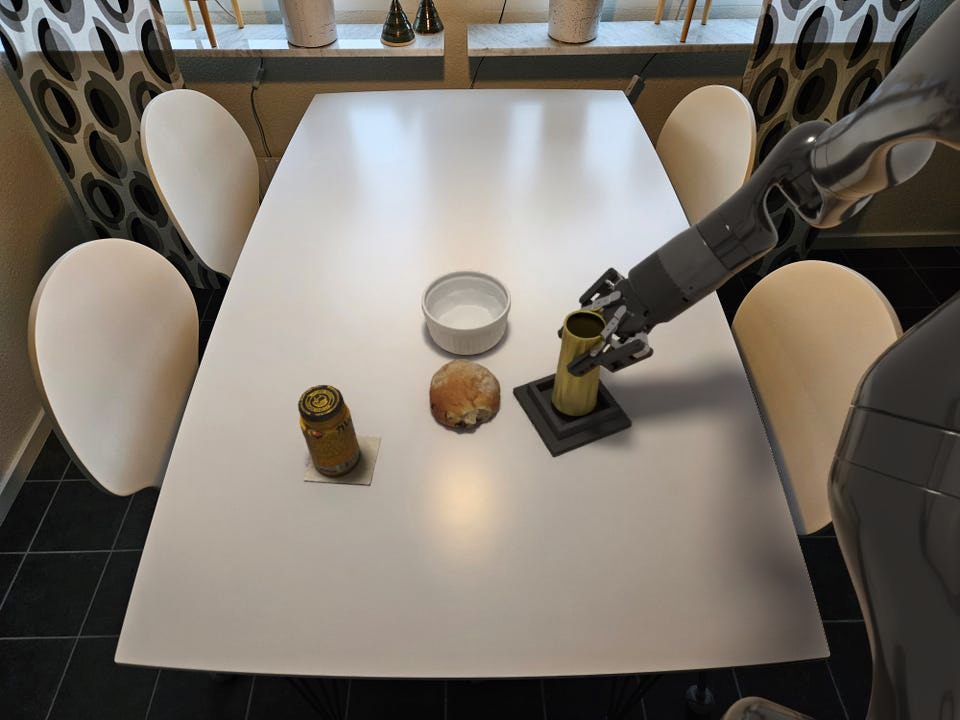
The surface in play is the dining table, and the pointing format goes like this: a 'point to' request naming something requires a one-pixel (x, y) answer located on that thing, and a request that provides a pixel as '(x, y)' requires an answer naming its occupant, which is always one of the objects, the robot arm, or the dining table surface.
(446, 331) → the ramekin
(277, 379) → the dining table surface
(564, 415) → the base pad
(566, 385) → the vase
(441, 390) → the bread roll
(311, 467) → the condiment
